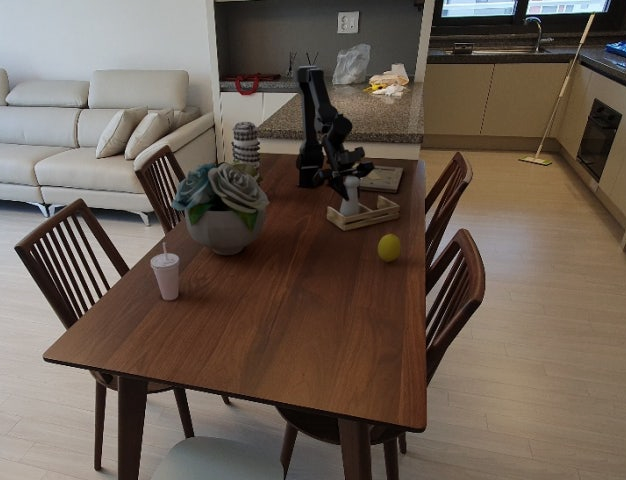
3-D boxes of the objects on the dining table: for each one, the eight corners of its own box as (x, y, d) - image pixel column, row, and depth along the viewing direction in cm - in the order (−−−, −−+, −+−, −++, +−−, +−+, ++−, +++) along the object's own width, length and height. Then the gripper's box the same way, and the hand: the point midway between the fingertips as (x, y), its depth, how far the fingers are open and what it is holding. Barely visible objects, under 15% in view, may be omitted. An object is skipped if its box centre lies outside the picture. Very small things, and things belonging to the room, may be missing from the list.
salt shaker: (357, 215, 142) (362, 174, 135) (359, 223, 137) (363, 181, 130) (338, 214, 142) (341, 174, 135) (339, 222, 138) (343, 181, 131)
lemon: (399, 258, 120) (403, 230, 115) (397, 268, 115) (401, 240, 111) (377, 255, 121) (381, 228, 117) (374, 265, 117) (378, 237, 112)
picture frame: (354, 167, 182) (342, 188, 163) (354, 163, 181) (342, 183, 162) (402, 171, 176) (396, 193, 158) (403, 167, 175) (396, 188, 157)
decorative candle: (256, 205, 152) (254, 127, 139) (230, 202, 155) (225, 126, 141) (265, 195, 159) (263, 120, 146) (240, 192, 162) (236, 119, 148)
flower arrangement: (254, 278, 113) (250, 182, 100) (165, 262, 121) (151, 172, 108) (284, 235, 133) (285, 151, 119) (206, 224, 140) (199, 144, 127)
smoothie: (171, 306, 104) (163, 251, 96) (150, 298, 107) (140, 245, 99) (189, 292, 108) (182, 239, 101) (169, 285, 111) (161, 233, 104)
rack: (326, 218, 142) (327, 206, 139) (378, 207, 148) (380, 195, 146) (344, 231, 134) (345, 218, 132) (398, 218, 141) (400, 205, 138)
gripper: (319, 142, 127) (338, 193, 124) (374, 133, 133) (393, 181, 131) (304, 162, 137) (321, 209, 135) (356, 153, 143) (374, 198, 141)
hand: (353, 199), depth 135 cm, fingers closed on salt shaker, 3 cm apart
